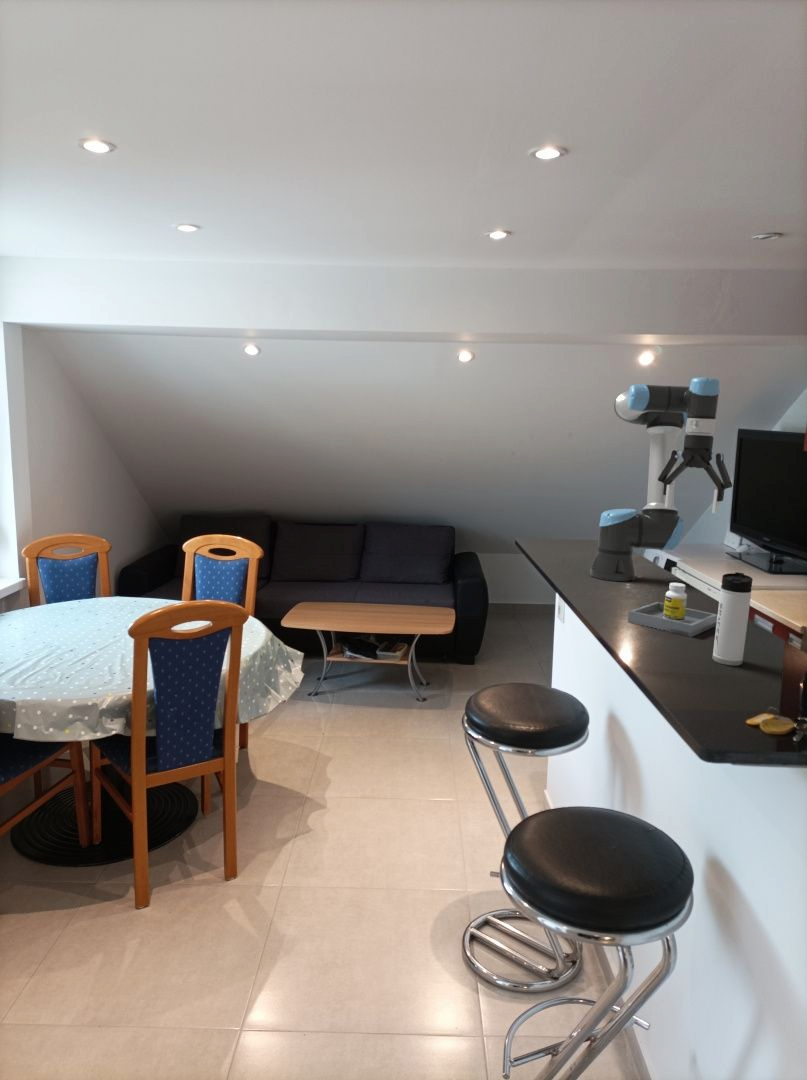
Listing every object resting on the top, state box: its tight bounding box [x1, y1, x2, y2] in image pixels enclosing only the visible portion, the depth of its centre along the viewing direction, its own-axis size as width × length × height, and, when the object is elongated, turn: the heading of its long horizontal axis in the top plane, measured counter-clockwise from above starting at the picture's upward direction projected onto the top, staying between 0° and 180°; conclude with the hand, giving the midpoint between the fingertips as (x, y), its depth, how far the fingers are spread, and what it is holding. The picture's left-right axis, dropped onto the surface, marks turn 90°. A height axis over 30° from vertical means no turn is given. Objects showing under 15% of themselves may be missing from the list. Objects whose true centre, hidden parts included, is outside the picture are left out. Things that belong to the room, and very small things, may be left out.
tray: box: [627, 601, 718, 638], centre depth 199 cm, size 17×17×3 cm
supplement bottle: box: [663, 582, 688, 622], centre depth 198 cm, size 5×5×10 cm
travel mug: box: [712, 571, 753, 667], centre depth 168 cm, size 6×7×20 cm
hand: (690, 510), depth 212 cm, fingers open, 13 cm apart
